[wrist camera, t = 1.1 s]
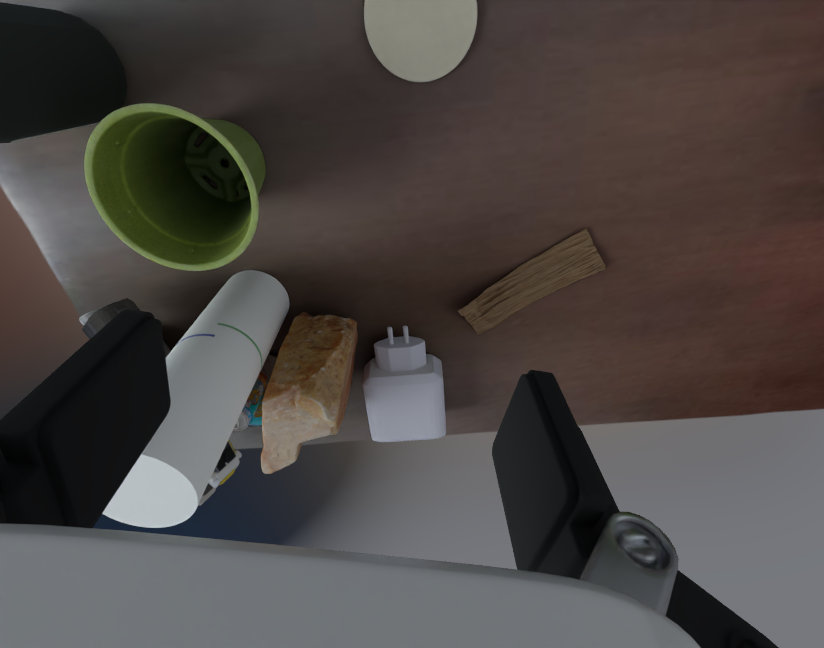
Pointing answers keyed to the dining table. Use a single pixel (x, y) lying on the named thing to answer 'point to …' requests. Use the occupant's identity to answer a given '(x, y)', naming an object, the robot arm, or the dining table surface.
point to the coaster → (420, 35)
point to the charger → (404, 391)
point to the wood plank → (534, 281)
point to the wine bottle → (54, 73)
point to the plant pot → (175, 184)
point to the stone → (307, 386)
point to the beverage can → (256, 397)
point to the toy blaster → (103, 316)
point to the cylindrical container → (203, 400)
